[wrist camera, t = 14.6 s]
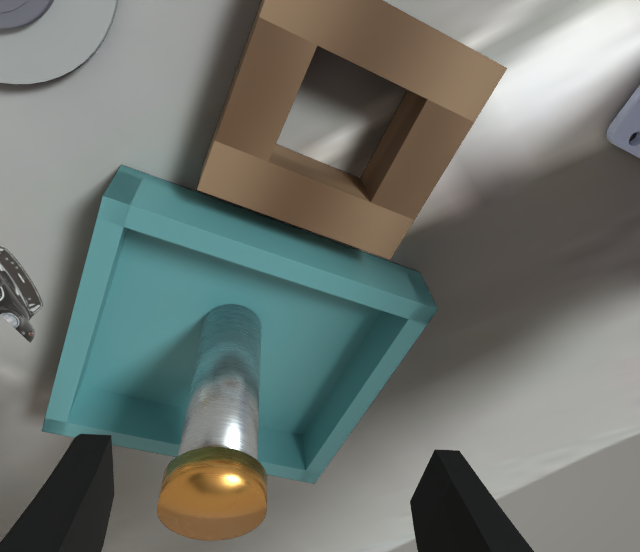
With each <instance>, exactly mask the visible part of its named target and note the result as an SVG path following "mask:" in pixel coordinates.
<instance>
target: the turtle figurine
mask: <svg viewBox="0 0 640 552" xmlns="http://www.w3.org/2000/svg"><path fill="white" fill-rule="evenodd" d="M42 306H43V303H42V300H41V297H40V295H39V293H38V291H37V289H36V287H35V286H34V284H33V282H32V281H31V279H30V278H29V276H28V275H27V273H26V272H25V270H24V269H23V267H22V266H21V264H20V263H19V262H18V261H17V259H16V258H15V257H14V256H13V255H12V254H11V253H10V252H9V251H8V250H7V249H6V248H4V247H2V246H0V315H1V316H2V317H3V318H5V319H6V320H7V321H8V322H9V323H10V324H11V325H12V326H13V327H14V328H15V329H16V330H17V331H18V332H19V333H20V334H22V335H23V336H24V337H25V338H26V339H27V340H28V341H29V342H31V341H32V340H33V339H34V336H35V331H34V328H33V326H32V325H31V323H30V322H29V320H30V319H31V317H32V316H33V315H34V314H35V313H37V312H38V311H39V310H40V309H41V308H42Z"/></svg>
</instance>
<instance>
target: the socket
mask: <svg viewBox="0 0 640 552" xmlns="http://www.w3.org/2000/svg"><path fill="white" fill-rule="evenodd" d="M317 45H318V46H320V47H322V48H324V49H326V50H328V51H330V52H332V53H334V54H336V55H338V56H340V57H342V58H344V59H346V60H348V61H350V62H352V63H354V64H356V65H358V66H360V67H362V68H365V69H367V70H369V71H371V72H373V73H375V74H377V75H379V76H381V77H383V78H385V79H387V80H389V81H391V82H393V83H395V84H397V85H399V86H401V87H403V88H405V89H407V91H406V93H405V95H404V97H403V99H402V101H401V103H400V105H399V107H398V109H397V110H396V112H395V114H394V116H393V118H392V120H391V122H390V124H389V126H388V127H387V129H386V131H385V133H384V135H383V137H382V139H381V141H380V143H379V145H378V146H377V148H376V150H375V152H374V154H373V156H372V158H371V160H370V162H369V163H368V165H367V167H366V169H365V171H364V173H363V175H362V177H361V179H360V178H358V177H355V176H353V175H351V174H348V173H346V172H343V171H341V170H338V169H336V168H334V167H331V166H329V165H326V164H324V163H321V162H319V161H317V160H314V159H312V158H309V157H307V156H304V155H302V154H299V153H297V152H295V151H292V150H290V149H287V148H285V147H282V146H280V145H278V144H276V142H277V140H278V138H279V135H280V133H281V131H282V128H283V126H284V123H285V121H286V119H287V116H288V114H289V112H290V109H291V107H292V105H293V102H294V100H295V97H296V95H297V93H298V90H299V88H300V86H301V83H302V81H303V78H304V76H305V74H306V71H307V69H308V67H309V64H310V62H311V60H312V57H313V55H314V52H315V50H316V48H317ZM506 69H507V68H506V67H504V66H502V65H500V64H498V63H497V62H495V61H493V60H491V59H489V58H487V57H486V56H484V55H482V54H480V53H478V52H476V51H475V50H473V49H471V48H469V47H467V46H465V45H464V44H462V43H460V42H458V41H456V40H454V39H452V38H451V37H449V36H447V35H445V34H443V33H441V32H440V31H438V30H436V29H434V28H432V27H430V26H429V25H427V24H425V23H423V22H421V21H419V20H418V19H416V18H414V17H412V16H410V15H408V14H406V13H405V12H403V11H401V10H399V9H397V8H395V7H394V6H392V5H390V4H388V3H386V2H384V1H383V0H262V1H261V4H260V6H259V9H258V12H257V15H256V18H255V20H254V23H253V26H252V29H251V32H250V34H249V37H248V40H247V43H246V46H245V49H244V51H243V54H242V57H241V60H240V63H239V65H238V68H237V71H236V74H235V77H234V79H233V82H232V85H231V88H230V91H229V93H228V96H227V99H226V102H225V105H224V107H223V110H222V113H221V116H220V119H219V122H218V124H217V127H216V130H215V133H214V136H213V138H212V141H211V144H210V147H209V150H208V152H207V155H206V158H205V161H204V164H203V167H202V171H201V175H200V179H199V183H198V187H197V190H199V191H202V192H204V193H207V194H210V195H213V196H215V197H218V198H221V199H224V200H226V201H229V202H232V203H235V204H237V205H240V206H243V207H246V208H249V209H251V210H254V211H257V212H260V213H262V214H265V215H268V216H271V217H273V218H276V219H279V220H282V221H284V222H287V223H290V224H293V225H295V226H298V227H301V228H304V229H307V230H309V231H312V232H315V233H318V234H320V235H323V236H326V237H329V238H331V239H334V240H337V241H340V242H342V243H345V244H348V245H351V246H353V247H356V248H359V249H362V250H364V251H367V252H370V253H373V254H376V255H378V256H381V257H384V258H387V259H389V260H390V259H391V257H392V256H393V254H394V253H395V251H396V249H397V248H398V246H399V244H400V243H401V241H402V239H403V238H404V236H405V235H406V233H407V231H408V230H409V228H410V226H411V225H412V223H413V221H414V220H415V218H416V217H417V215H418V213H419V212H420V210H421V208H422V207H423V205H424V203H425V202H426V200H427V199H428V197H429V195H430V194H431V192H432V190H433V189H434V187H435V185H436V184H437V182H438V181H439V179H440V177H441V176H442V174H443V172H444V171H445V169H446V167H447V166H448V164H449V163H450V161H451V159H452V158H453V156H454V154H455V153H456V151H457V150H458V148H459V146H460V145H461V143H462V141H463V140H464V138H465V136H466V135H467V133H468V132H469V130H470V128H471V127H472V125H473V123H474V122H475V120H476V118H477V117H478V115H479V114H480V112H481V110H482V109H483V107H484V105H485V104H486V102H487V100H488V99H489V97H490V96H491V94H492V92H493V91H494V89H495V87H496V86H497V84H498V82H499V81H500V79H501V78H502V76H503V74H504V73H505V71H506Z"/></svg>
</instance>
